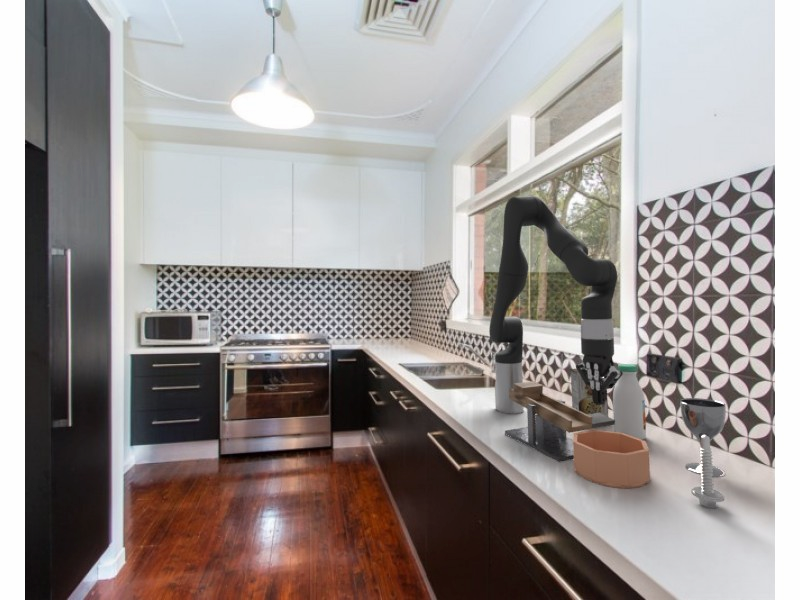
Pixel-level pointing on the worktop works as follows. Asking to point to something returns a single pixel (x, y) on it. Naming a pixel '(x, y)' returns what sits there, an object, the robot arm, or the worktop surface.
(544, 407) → the seesaw lever
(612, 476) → the bowl
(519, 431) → the lever stand
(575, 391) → the coffee box
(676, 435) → the worktop surface
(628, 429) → the milk bottle
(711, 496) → the screw
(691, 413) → the wine glass
